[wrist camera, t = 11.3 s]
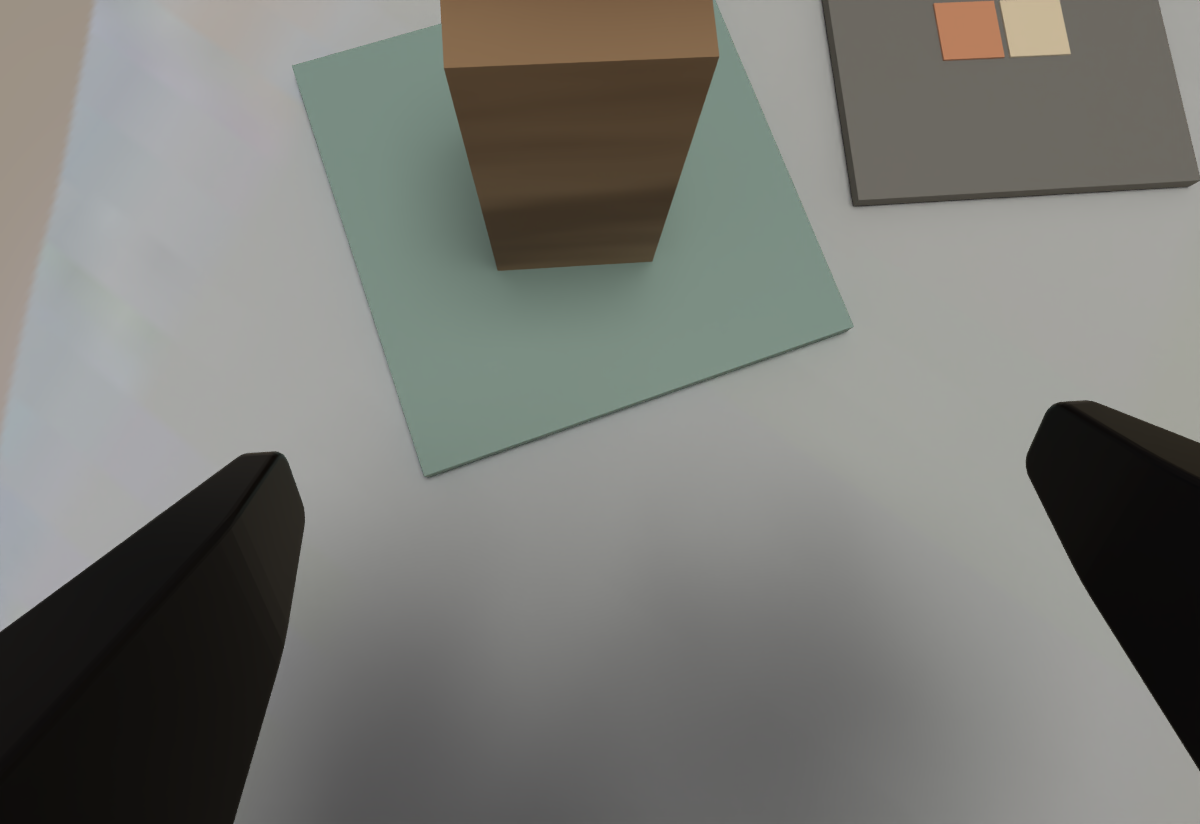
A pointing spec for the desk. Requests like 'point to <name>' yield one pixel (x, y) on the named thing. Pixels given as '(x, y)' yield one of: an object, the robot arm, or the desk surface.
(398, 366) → the teal pad
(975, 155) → the tile
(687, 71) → the walnut block
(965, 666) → the desk surface
